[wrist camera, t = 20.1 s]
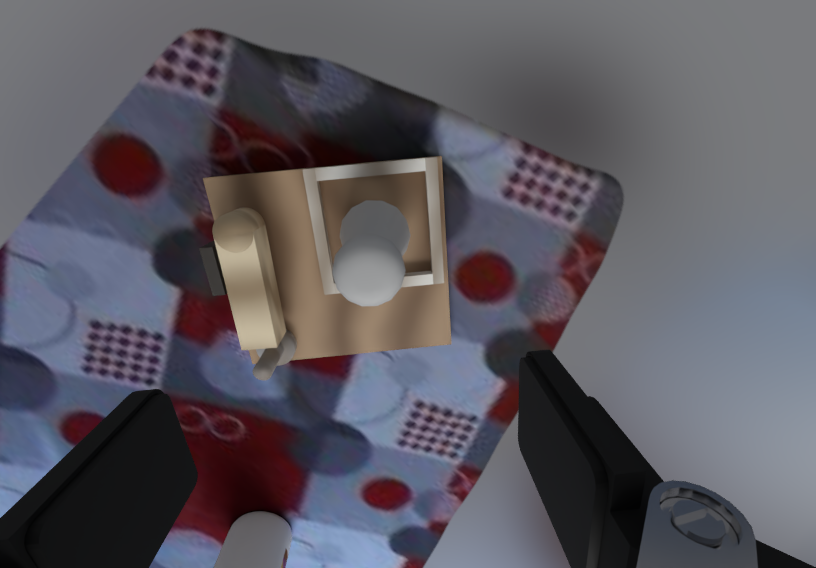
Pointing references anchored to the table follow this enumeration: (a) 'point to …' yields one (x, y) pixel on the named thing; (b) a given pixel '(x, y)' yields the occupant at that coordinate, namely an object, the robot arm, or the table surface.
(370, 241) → the salt shaker
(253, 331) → the leg
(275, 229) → the wooden activity board
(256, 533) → the milk bottle
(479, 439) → the table surface
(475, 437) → the table surface
